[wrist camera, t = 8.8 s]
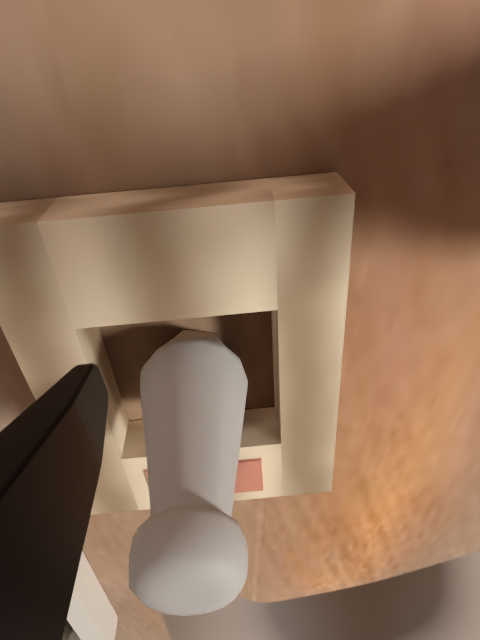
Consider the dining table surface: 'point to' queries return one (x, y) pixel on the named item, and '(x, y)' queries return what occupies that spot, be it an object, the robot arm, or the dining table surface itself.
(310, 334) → the maple frame
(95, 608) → the white rectangular tray
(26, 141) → the dining table surface
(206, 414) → the salt shaker
